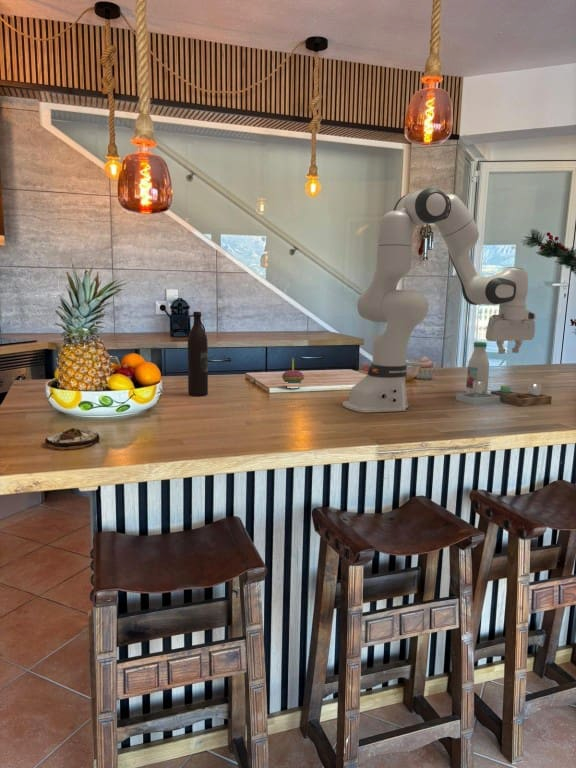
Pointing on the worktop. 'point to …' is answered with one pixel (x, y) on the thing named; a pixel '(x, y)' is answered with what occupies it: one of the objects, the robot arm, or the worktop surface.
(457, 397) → the tray
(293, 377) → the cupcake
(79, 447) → the chocolate cream tart
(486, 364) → the milk bottle
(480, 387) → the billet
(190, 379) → the wine bottle
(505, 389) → the button
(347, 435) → the worktop surface
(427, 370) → the cupcake
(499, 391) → the console
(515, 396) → the pallet
